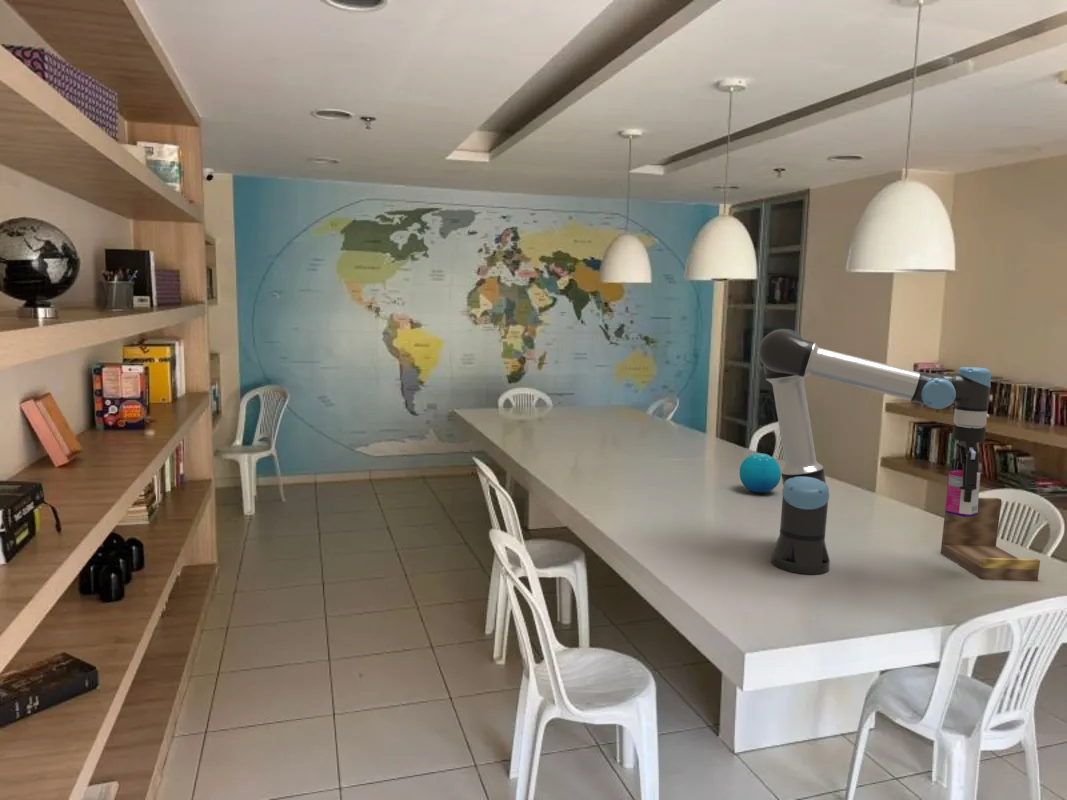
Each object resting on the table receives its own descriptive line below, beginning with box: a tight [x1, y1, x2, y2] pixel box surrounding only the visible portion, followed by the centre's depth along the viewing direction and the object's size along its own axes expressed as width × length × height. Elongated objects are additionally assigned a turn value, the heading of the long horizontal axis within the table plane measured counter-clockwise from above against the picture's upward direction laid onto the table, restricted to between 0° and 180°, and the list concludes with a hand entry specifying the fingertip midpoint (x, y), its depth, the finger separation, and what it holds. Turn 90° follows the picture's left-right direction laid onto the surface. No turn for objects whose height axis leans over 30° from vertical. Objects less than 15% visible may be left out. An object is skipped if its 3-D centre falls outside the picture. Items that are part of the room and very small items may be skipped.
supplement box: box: [945, 470, 981, 518], centre depth 199 cm, size 6×6×12 cm
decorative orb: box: [739, 452, 782, 494], centre depth 279 cm, size 15×15×15 cm
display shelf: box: [940, 497, 1041, 581], centre depth 206 cm, size 15×20×17 cm
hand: (961, 509), depth 200 cm, fingers closed on supplement box, 8 cm apart
